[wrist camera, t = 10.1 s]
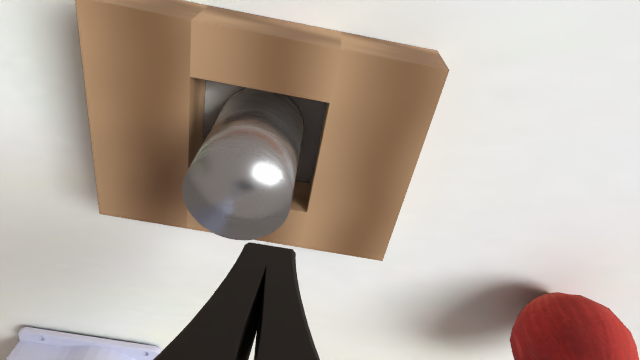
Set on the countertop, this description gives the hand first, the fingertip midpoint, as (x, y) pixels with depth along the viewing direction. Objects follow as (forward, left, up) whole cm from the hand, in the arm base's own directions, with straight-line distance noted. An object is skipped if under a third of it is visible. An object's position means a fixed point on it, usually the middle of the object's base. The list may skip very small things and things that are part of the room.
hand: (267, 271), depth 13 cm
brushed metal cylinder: (-2, -1, -10) cm, 10 cm away
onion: (+16, -9, -10) cm, 21 cm away
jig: (-2, -1, -10) cm, 10 cm away
